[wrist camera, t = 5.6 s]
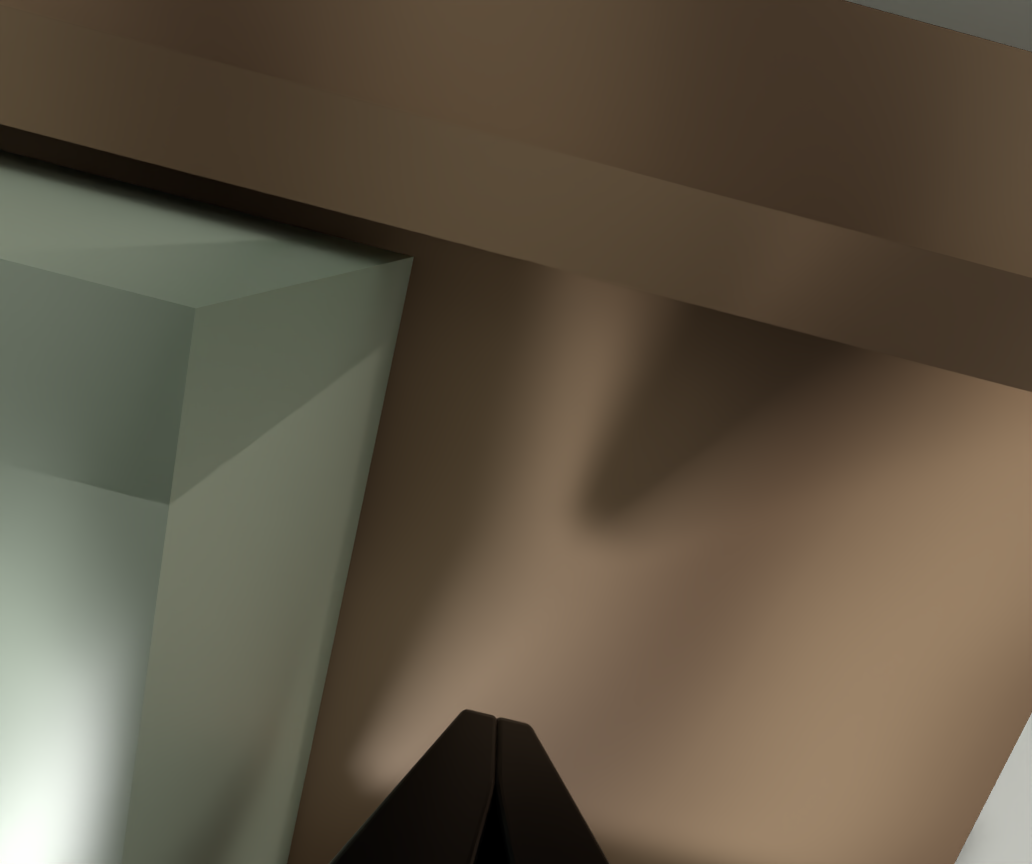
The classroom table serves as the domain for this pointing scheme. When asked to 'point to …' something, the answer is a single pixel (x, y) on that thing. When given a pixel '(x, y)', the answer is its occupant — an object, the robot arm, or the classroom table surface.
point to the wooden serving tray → (639, 385)
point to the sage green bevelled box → (173, 511)
